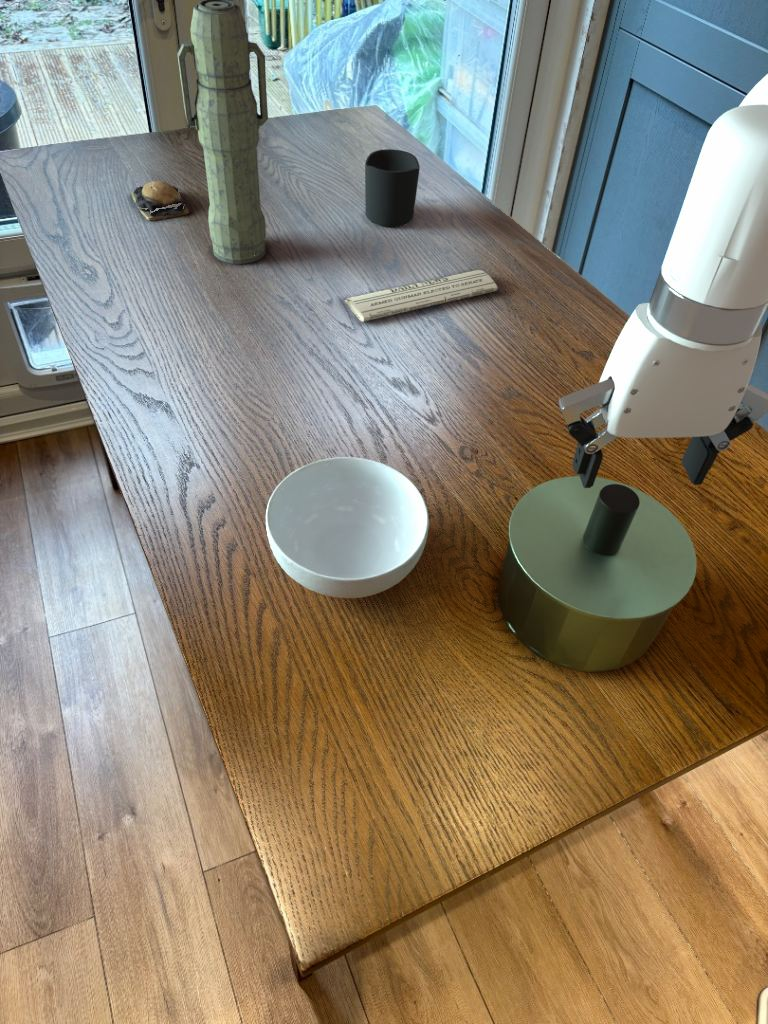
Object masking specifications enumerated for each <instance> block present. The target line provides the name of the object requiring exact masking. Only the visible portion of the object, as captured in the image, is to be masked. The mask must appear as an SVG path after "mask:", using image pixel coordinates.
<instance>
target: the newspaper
mask: <svg viewBox="0 0 768 1024" xmlns="http://www.w3.org/2000/svg"><path fill="white" fill-rule="evenodd" d="M497 291H498V285H497V284H496V282H495V281H494V280H493V278H492V277H491V276H490V274H488V273H486V272H485V271H484V270H481V269H475V270H470V271H467V272H462V273H461V272H460V273H457V274H452V275H447V276H443V277H439V278H434V279H429V280H425V281H421V282H415V283H411V284H406V285H402V286H397V287H392V288H389V289H383V290H379V291H374V292H370V293H365V294H360V295H356V296H351V297H347V298H346V299H344V302H345V304H347V305H348V307H349V309H350V310H351V312H352V313H353V314H354V315H355V316H356V318H357V319H358V320H359V321H360V322H368V321H371V320H376V319H380V318H385V317H389V316H393V315H398V314H403V313H405V312H411V311H415V310H419V309H424V308H428V307H433V306H437V305H441V304H445V303H446V304H447V303H450V302H454V301H458V300H462V299H467V298H472V297H475V296H476V297H477V296H480V295H484V294H489V293H493V292H497Z"/></svg>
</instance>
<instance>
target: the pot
mask: <svg viewBox="0 0 768 1024" xmlns="http://www.w3.org/2000/svg"><path fill="white" fill-rule="evenodd" d="M496 592H497V604H498V607H499V610H500V613H501V617H502V619H503V620H504V622H505V624H506V626H507V627H508V629H509V630H510V632H511V633H512V634H513V635H514V636H515V638H516V639H517V640H518V641H519V642H520V643H521V644H522V645H523V646H525V647H526V648H527V649H528V650H529V651H531V652H532V653H534V654H535V655H536V656H538V657H540V658H541V659H543V660H545V661H547V662H549V663H551V664H554V665H556V666H559V667H561V668H565V669H569V670H573V671H576V672H577V671H578V672H583V673H584V672H586V673H602V672H610V671H615V670H619V669H622V668H624V667H627V666H629V665H631V664H632V663H634V662H636V661H638V659H639V658H642V657H643V656H644V655H645V654H646V652H647V651H648V650H649V649H650V647H651V645H652V644H653V642H655V640H656V638H657V637H658V635H659V634H660V632H661V630H662V629H663V627H664V626H665V624H666V622H667V620H668V618H669V617H670V615H671V613H672V611H673V610H674V608H675V606H674V607H673V608H672V609H670V610H668V611H666V612H664V613H663V614H660V615H657V616H655V617H652V618H647V619H643V620H636V621H611V620H604V619H598V618H594V617H590V616H587V615H584V614H581V613H578V612H575V611H573V610H571V609H569V608H566V607H564V606H562V605H561V604H559V603H557V602H555V601H554V600H552V599H551V598H549V597H548V596H546V595H545V594H544V593H542V592H541V591H540V590H539V589H538V588H537V587H535V586H534V585H533V584H532V583H531V582H530V580H529V579H528V578H527V577H526V576H525V575H524V573H523V572H522V570H521V569H520V568H519V566H518V564H517V562H516V560H515V558H514V556H513V554H512V551H511V548H510V543H509V542H508V546H507V549H506V553H505V557H504V560H503V564H502V567H501V571H500V574H499V578H498V581H497V585H496Z"/></svg>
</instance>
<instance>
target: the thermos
mask: <svg viewBox="0 0 768 1024" xmlns="http://www.w3.org/2000/svg"><path fill="white" fill-rule="evenodd" d="M241 9H242V8H241V7H240V6H239V5H238V4H236V3H235V2H234V1H231V0H200V1H199V2H198V3H196V4H195V5H194V6H193V10H192V15H191V23H190V28H189V29H190V39H189V40H188V42H187V41H186V42H182V44H181V45H180V48H179V50H178V51H177V53H176V56H177V64H178V72H179V79H180V86H181V87H180V88H181V94H182V100H183V107H184V114H185V118H186V123H187V125H188V127H194V128H195V129H196V131H197V133H198V134H197V135H198V141H199V143H200V145H201V147H202V151H203V157H204V158H203V159H204V166H205V175H206V182H207V190H208V191H207V192H208V199H209V200H208V201H209V207H208V218H207V222H208V229H209V237H210V239H211V242H212V252H213V255H214V257H215V258H216V259H218V260H219V261H221V262H223V263H226V264H231V265H232V264H233V265H246V264H252V263H254V262H257V261H259V260H261V259H262V258H263V257H264V256H265V255H266V250H267V246H266V237H267V233H266V232H267V231H266V218H265V215H264V213H263V211H262V209H261V208H262V206H261V192H260V191H261V190H260V179H259V163H258V145H259V141H260V132H259V131H260V127H262V126H263V125H264V124H265V123H266V122H267V121H268V120H269V110H268V96H267V95H268V93H267V77H266V76H267V73H266V72H267V71H266V55H265V53H264V52H263V50H262V49H261V48H260V46H259V45H258V43H257V42H251V41H249V34H248V32H247V27H246V21H245V18H244V15H243V12H242V10H241ZM187 53H190V55H192V56H193V64H194V70H195V72H196V76H197V78H196V80H195V81H196V88H197V89H196V94H195V100H194V110H195V112H194V115H193V114H192V106H191V98H190V89H189V82H188V75H187V74H188V73H187V67H186V59H185V58H186V55H187ZM251 53H254V54H255V56H256V62H257V63H256V66H257V80H258V81H257V82H258V97H259V113H258V102H257V100H256V96H255V94H254V90H253V89H252V87H253V86H252V79H251V78H250V71H251V62H250V55H251ZM254 255H255V256H254Z"/></svg>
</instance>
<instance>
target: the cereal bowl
mask: <svg viewBox="0 0 768 1024" xmlns="http://www.w3.org/2000/svg"><path fill="white" fill-rule="evenodd" d="M429 527H430V519H429V511H428V507H427V504H426V501H425V499H424V497H423V496H422V494H421V492H420V491H419V489H418V488H417V486H416V485H415V484H414V483H413V482H412V481H411V480H410V479H409V478H408V477H407V476H406V475H404V474H403V473H401V472H400V471H398V470H397V469H395V468H393V467H392V466H389V465H388V464H385V463H382V462H380V461H376V460H373V459H369V458H363V457H357V456H356V457H355V456H336V457H329V458H324V459H320V460H315V461H312V462H310V463H308V464H305V465H303V466H301V467H299V468H297V469H295V470H293V471H292V472H290V473H289V474H288V475H287V476H286V477H284V479H282V480H281V481H280V483H278V485H277V486H276V487H275V488H274V490H273V492H272V493H271V495H270V497H269V499H268V502H267V506H266V511H265V530H266V536H267V538H268V543H269V546H270V550H271V551H272V555H273V557H274V558H275V560H276V562H277V563H278V564H279V566H280V567H281V569H282V570H283V571H284V573H286V575H288V576H289V577H290V578H291V579H292V580H293V581H295V582H296V583H298V584H299V585H301V586H302V587H303V588H306V589H307V590H309V591H312V592H314V593H317V594H319V595H322V596H326V597H331V598H336V599H346V600H347V599H359V598H360V599H361V598H366V597H370V596H374V595H377V594H380V593H382V592H385V591H386V590H388V589H389V590H390V589H391V588H393V587H395V586H396V585H397V584H399V583H400V582H401V581H403V580H404V579H405V578H406V577H407V576H408V575H409V574H410V573H411V572H412V571H413V569H414V568H415V567H416V565H417V563H418V562H419V560H420V559H421V557H422V555H423V552H424V550H425V547H426V544H427V539H428V534H429Z"/></svg>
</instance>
